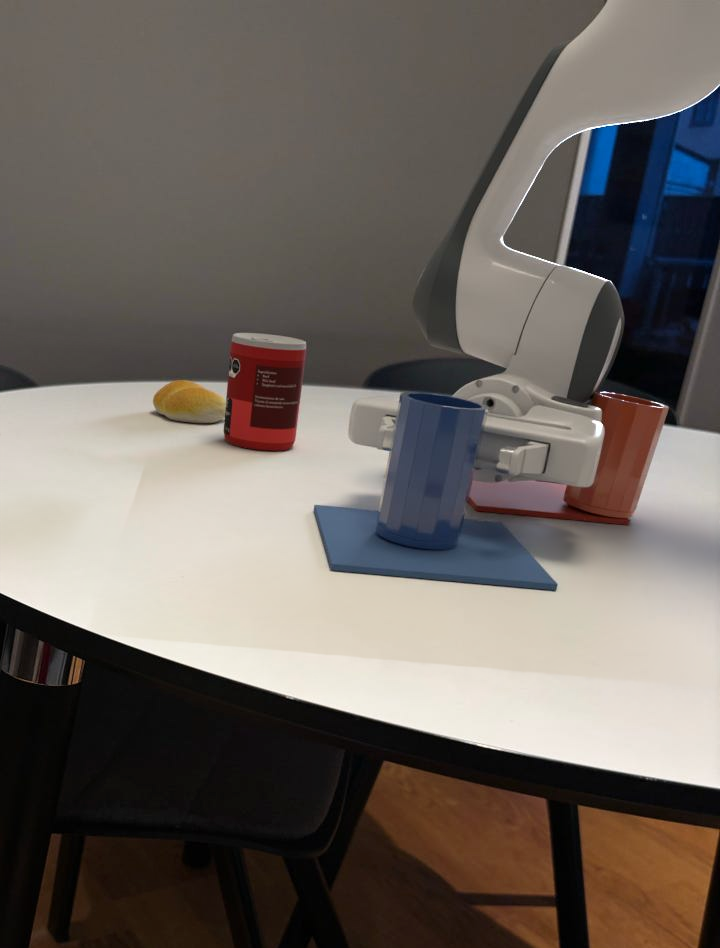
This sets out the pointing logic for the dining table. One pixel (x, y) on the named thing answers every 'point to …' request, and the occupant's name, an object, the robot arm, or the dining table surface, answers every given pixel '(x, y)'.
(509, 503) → the red mat
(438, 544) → the blue cup
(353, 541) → the blue mat
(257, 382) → the canned food
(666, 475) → the dining table surface
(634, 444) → the red cup
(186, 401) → the bread roll
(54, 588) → the dining table surface
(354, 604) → the dining table surface
